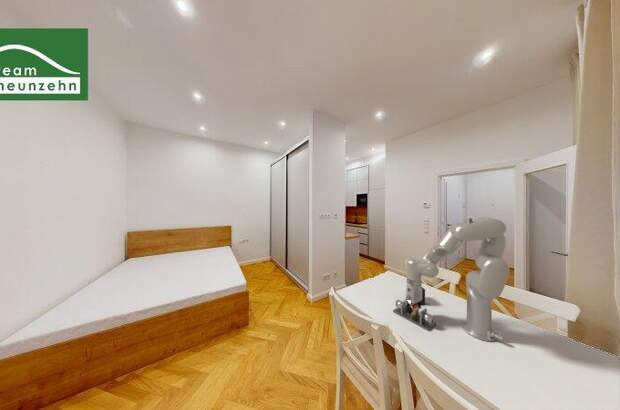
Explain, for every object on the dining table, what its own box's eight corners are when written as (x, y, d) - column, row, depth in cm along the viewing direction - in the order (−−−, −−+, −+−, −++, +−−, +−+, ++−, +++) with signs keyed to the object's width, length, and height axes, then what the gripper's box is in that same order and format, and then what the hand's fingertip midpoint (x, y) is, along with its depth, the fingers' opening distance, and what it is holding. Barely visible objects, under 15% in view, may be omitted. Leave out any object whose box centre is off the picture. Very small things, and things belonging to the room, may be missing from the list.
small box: (425, 305, 123) (425, 289, 122) (415, 305, 123) (415, 289, 123) (416, 297, 133) (417, 282, 133) (407, 296, 133) (407, 282, 133)
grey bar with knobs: (436, 324, 103) (436, 311, 103) (428, 330, 98) (428, 317, 98) (401, 307, 120) (401, 296, 120) (393, 312, 115) (393, 300, 115)
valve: (420, 316, 108) (420, 304, 108) (415, 319, 105) (416, 307, 105) (411, 312, 112) (411, 300, 112) (406, 315, 110) (406, 303, 109)
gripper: (412, 287, 101) (412, 318, 101) (428, 280, 110) (427, 308, 110) (399, 282, 107) (398, 311, 107) (415, 275, 116) (414, 303, 117)
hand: (413, 310), depth 109 cm, fingers open, 9 cm apart
